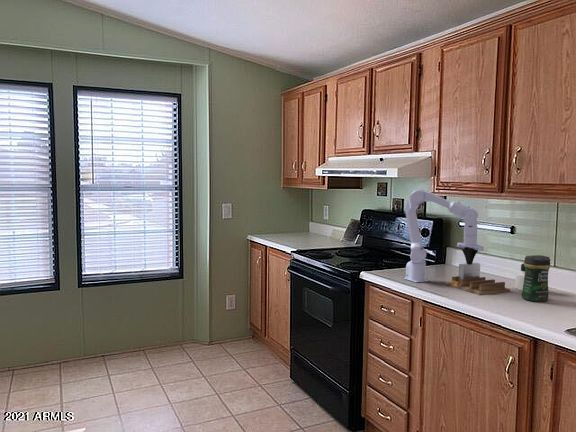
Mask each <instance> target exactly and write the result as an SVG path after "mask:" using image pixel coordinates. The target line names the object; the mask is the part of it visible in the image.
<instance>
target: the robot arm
mask: <svg viewBox="0 0 576 432" xmlns="http://www.w3.org/2000/svg"><path fill="white" fill-rule="evenodd" d="M424 202H425V203H426V202H433V203H435V204H437V205H439V206H442V207H445V208H446V209H448V212H449V213H450V214H453V215H455V216H457V217H459V218H461V219H463V218H464V226H463V227H464V228H463V242H457V244H456V247H457V248H461V251H462V253H463V255H464V259H465V261H466V263H467V264H472V263H474V259H475V257H476V255H477V253H478V251H479V252H482V251H484V250H485V249H484V248H485V247H484V245H479V244H478V219H479V212H478V210H476V209H475V208H471V207H470V206H469V205H468V206H466V205H465V204H462V203H461V201H459V200H458V201H456V200H455V201H449V200H448V199H445V198H443V197H441V196H439V195H437V194H435V193H433V192H431V191H428V190H427V191H426V190H424V189H415V190H413V191H412V192H411V193H410V194H409V195H408V199H407V201H406V203H405V206H404V212H405V217H406V222H407V224H406V225H407V228H408V229H407V230H408V234H409V240H410V255H409V257H410V261H408V262H407V263H406V265H405V277H404V280H408V281H410V282H414V283H425V282H430V280H429V279H427V278H426V272H427V271H426V269H427V267H426V266H427V263H426V262H427V261H426V260H425V259H426V258H427V251H426V249H425V248H424V245H423V242H422V237H421V233H420V227H419V222H418V216H417V209H418V207H419V206H420V205H421V204H423V203H424ZM466 263H465V264H466Z"/></svg>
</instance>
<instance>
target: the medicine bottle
mask: <svg viewBox="0 0 576 432" xmlns="http://www.w3.org/2000/svg"><path fill="white" fill-rule="evenodd" d="M524 277H525V267H524V262H523V263H521V265H520V273H519V272H518V273H516V274H515V286H514V287H515V290H519V291H521V292H522V290H523V284H524Z"/></svg>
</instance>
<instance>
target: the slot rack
mask: <svg viewBox="0 0 576 432" xmlns="http://www.w3.org/2000/svg"><path fill="white" fill-rule="evenodd" d="M458 276H459V275H458ZM458 276H451V280H450V282H447V283H446V286H449V287H452V288H455V289H459V290H462V291H465V292H469V293H471V294H475V295H490V294H497V293H498V294H499V293H508V292H510V291H511V289H510V288H507V287H506V282H505V281H499V282H498V281H497V282H496V279H486V276H480V277H478V278H468V279H461V284H460V282H458Z"/></svg>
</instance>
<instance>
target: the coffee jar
mask: <svg viewBox="0 0 576 432" xmlns="http://www.w3.org/2000/svg"><path fill="white" fill-rule="evenodd" d="M523 263H524V267H525V277H524V284H523V290H522V291H521V297H522V299H523V300H525V301H529V302H530V301H531V302H538V303H539V302H547V301H548V300H549V271H550V268H551V259H550V257H549V256H546V255H539V254H538V255H537V254H536V255H526V256H525V257H524V262H523Z"/></svg>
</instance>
